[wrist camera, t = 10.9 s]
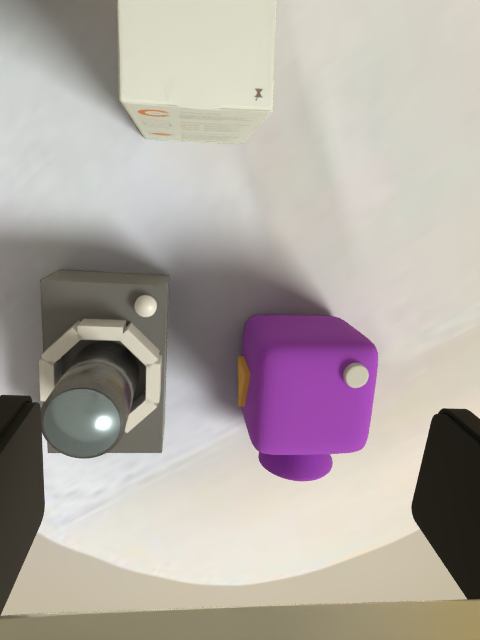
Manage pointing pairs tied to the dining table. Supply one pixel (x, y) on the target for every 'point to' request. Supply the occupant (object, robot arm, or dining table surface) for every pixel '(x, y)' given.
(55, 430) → the lens
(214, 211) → the dining table surface
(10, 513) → the robot arm
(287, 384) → the toy camera
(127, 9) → the small box
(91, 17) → the dining table surface
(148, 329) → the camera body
